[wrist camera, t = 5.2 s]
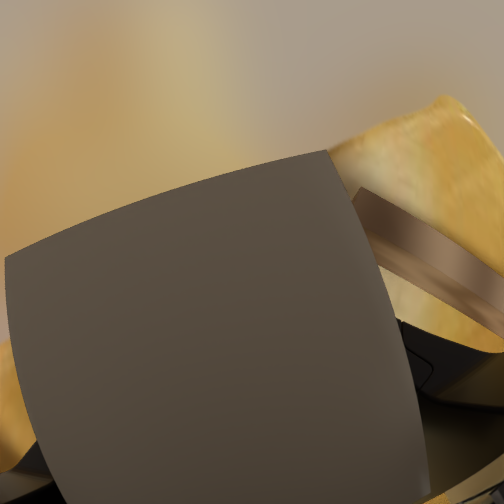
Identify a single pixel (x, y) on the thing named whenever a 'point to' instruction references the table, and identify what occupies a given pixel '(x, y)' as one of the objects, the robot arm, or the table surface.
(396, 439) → the carton
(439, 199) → the table surface
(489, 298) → the brown wooden bar
